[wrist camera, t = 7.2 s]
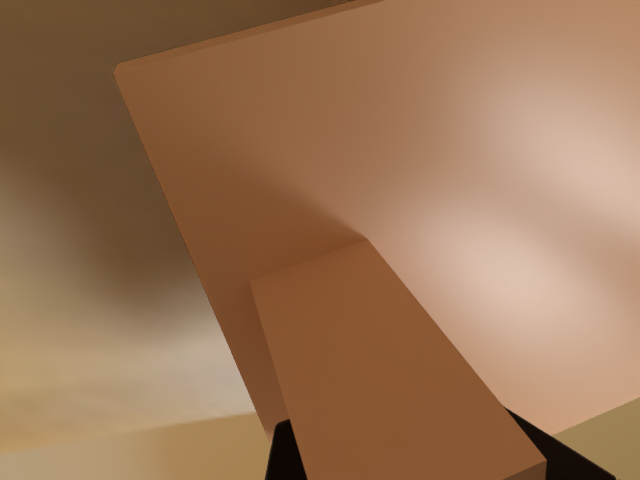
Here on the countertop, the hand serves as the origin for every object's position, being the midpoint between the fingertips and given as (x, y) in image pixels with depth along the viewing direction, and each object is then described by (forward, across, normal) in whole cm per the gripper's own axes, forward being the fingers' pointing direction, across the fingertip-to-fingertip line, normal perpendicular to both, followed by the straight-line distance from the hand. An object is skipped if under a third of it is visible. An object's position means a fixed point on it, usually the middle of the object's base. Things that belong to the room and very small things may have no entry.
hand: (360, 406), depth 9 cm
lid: (+4, -4, 0) cm, 6 cm away
